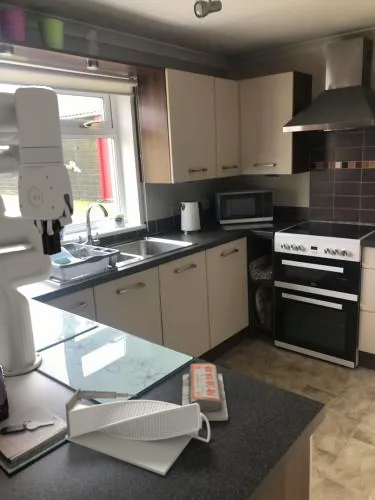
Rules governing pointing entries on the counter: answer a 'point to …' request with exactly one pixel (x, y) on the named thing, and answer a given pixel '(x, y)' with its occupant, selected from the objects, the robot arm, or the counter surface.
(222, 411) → the packaged product
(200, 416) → the twisted tower model
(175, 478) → the counter surface
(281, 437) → the counter surface
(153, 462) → the mat
